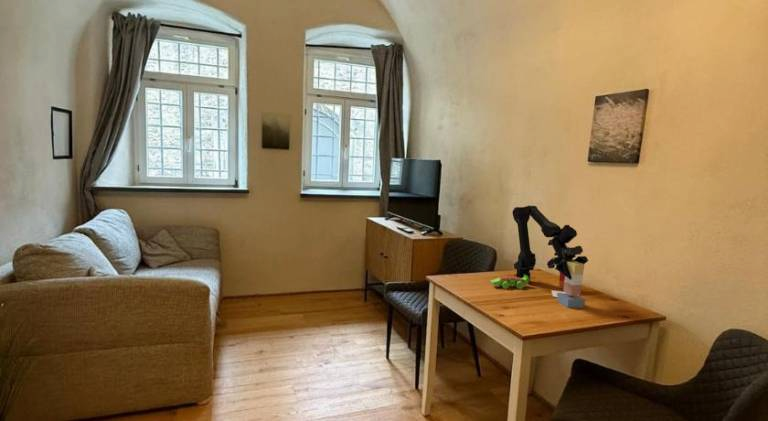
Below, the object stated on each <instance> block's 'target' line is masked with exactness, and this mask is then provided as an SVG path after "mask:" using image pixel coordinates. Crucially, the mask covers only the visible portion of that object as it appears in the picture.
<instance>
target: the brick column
mask: <svg viewBox="0 0 768 421" xmlns="http://www.w3.org/2000/svg"><path fill="white" fill-rule="evenodd" d="M567 268H568V270H569V272H570V274H571V277H572V279H571V280H570V279H569V278H567V277H566V276H565V282H564V289H562V290H563V291H562V292H565V293H567V294H569V295H579V296H580V295H581V293H582V292H581V291H582V284H583V278H584V270H585V264H582V263H579V262H577V261H571V262H567Z"/></svg>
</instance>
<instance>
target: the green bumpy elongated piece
mask: <svg viewBox="0 0 768 421" xmlns="http://www.w3.org/2000/svg"><path fill="white" fill-rule="evenodd" d="M490 283H491V285H493V286H495V287H500V286H501V287H502V289H504V290H507V289H509V288H510V287H516V289H517V290H521V289H523V288H524V286H526V285H528V284H529V283H530V281H529V277H528V276H526V275H524V277H523V278H519V277H516V276H510V275H509V276H499V277H497V278H495V279H490Z"/></svg>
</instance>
